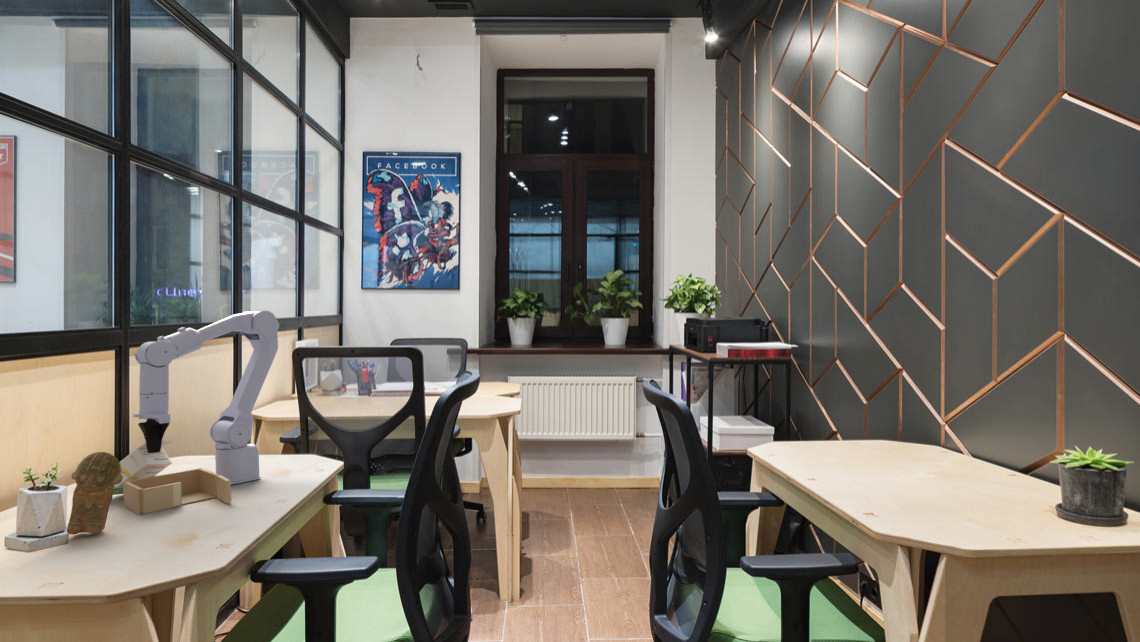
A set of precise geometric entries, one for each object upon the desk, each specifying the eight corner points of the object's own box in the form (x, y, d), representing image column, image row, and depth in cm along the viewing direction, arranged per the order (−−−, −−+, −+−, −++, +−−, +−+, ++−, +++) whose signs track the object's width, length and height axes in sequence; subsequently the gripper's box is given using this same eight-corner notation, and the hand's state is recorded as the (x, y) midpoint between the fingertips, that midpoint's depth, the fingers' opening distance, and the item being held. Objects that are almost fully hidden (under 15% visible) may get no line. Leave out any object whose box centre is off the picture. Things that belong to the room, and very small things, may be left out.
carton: (201, 489, 157) (200, 467, 157) (219, 497, 150) (218, 474, 150) (123, 505, 145) (123, 482, 145) (139, 514, 138) (138, 489, 138)
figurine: (65, 542, 122) (62, 462, 121) (74, 529, 129) (72, 454, 129) (119, 534, 126) (117, 456, 125) (126, 522, 133) (123, 449, 133)
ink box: (105, 497, 148) (158, 456, 149) (95, 479, 149) (147, 439, 150) (133, 493, 157) (183, 455, 157) (124, 476, 157) (173, 438, 158)
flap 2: (217, 497, 149) (216, 475, 149) (221, 496, 150) (220, 474, 150) (226, 503, 144) (226, 480, 144) (231, 502, 144) (230, 480, 144)
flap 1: (180, 504, 144) (179, 482, 144) (182, 505, 143) (181, 482, 143) (143, 512, 138) (142, 489, 138) (144, 513, 138) (143, 489, 138)
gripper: (123, 393, 152) (123, 451, 152) (145, 396, 143) (144, 458, 142) (157, 391, 157) (157, 447, 157) (180, 394, 148) (180, 453, 148)
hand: (153, 452), depth 150 cm, fingers closed, pressing on ink box
